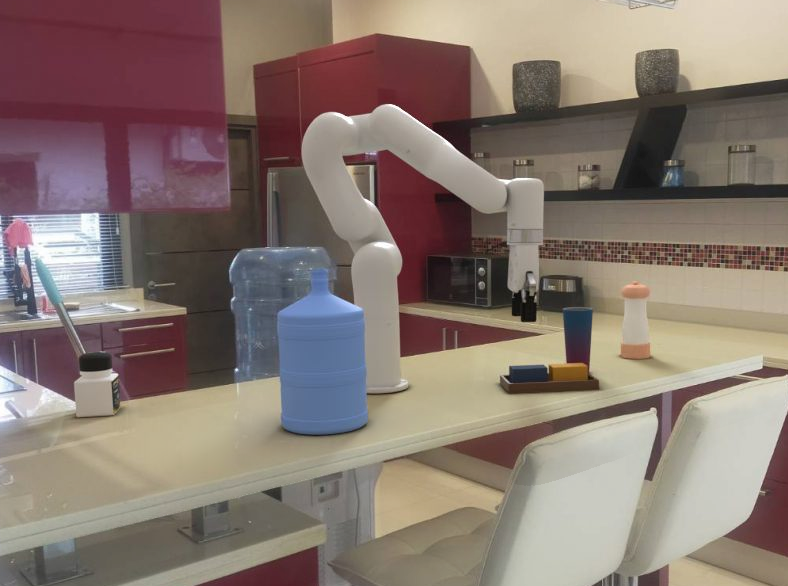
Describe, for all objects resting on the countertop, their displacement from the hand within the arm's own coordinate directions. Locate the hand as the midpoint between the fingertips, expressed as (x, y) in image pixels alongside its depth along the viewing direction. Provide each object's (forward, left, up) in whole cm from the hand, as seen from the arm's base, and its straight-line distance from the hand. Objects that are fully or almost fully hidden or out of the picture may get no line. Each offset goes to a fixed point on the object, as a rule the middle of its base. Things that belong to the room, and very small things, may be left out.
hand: (523, 318), depth 183 cm
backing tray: (+5, 0, -15) cm, 16 cm away
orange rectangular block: (+9, 0, -14) cm, 17 cm away
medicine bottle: (-87, -6, -15) cm, 88 cm away
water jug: (-42, -25, -15) cm, 51 cm away
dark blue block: (+1, 0, -14) cm, 14 cm away
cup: (+15, +13, -15) cm, 25 cm away
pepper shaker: (+35, +32, -15) cm, 50 cm away
